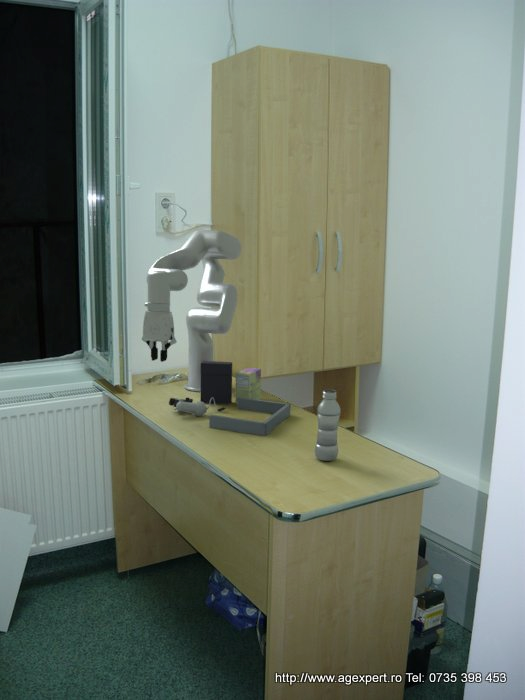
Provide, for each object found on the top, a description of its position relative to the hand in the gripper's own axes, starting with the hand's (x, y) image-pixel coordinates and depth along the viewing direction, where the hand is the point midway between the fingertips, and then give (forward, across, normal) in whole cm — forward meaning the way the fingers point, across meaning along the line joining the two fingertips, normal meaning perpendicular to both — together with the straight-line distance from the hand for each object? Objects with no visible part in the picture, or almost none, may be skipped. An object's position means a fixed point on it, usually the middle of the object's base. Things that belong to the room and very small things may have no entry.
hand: (159, 359), depth 233 cm
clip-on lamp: (+18, +15, +1) cm, 23 cm away
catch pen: (+17, +34, 0) cm, 38 cm away
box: (+17, +25, +21) cm, 37 cm away
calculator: (+17, +15, +15) cm, 27 cm away
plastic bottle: (+17, +67, -24) cm, 73 cm away
